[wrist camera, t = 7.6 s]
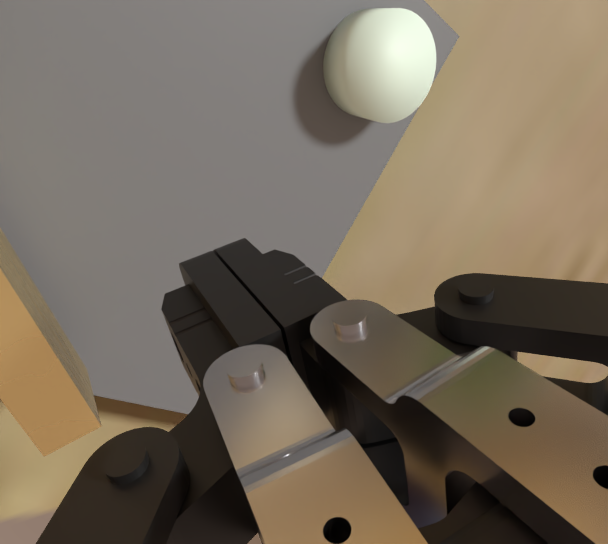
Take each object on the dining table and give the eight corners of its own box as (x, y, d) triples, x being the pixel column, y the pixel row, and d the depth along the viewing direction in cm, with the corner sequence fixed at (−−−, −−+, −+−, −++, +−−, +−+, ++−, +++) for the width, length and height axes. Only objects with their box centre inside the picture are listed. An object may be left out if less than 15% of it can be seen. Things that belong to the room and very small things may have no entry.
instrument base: (-347, -706, 9) (-501, -1031, 6) (425, 34, 22) (490, 37, 19) (-614, 203, 12) (-813, 264, 9) (222, 397, 25) (252, 448, 22)
